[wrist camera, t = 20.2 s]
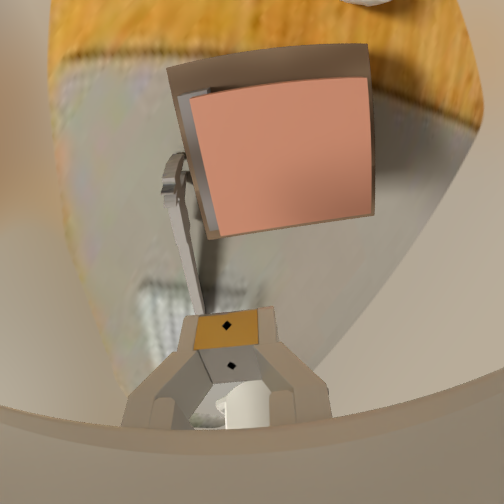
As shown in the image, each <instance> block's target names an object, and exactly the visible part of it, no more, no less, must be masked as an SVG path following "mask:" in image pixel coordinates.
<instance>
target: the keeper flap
mask: <svg viewBox="0 0 504 504" xmlns="http://www.w3.org/2000/svg"><path fill="white" fill-rule="evenodd" d="M189 100H190V105H191V110H192V114H193V119H194V123H195V128H196V133H197V137H198V141H199V146H200V150H201V155H202V159H203V164H204V168H205V172H206V177H207V181H208V185H209V189H210V194H211V198H212V202H213V206H214V211H215V215H216V219H217V223H218V227H219V231H220V235H221V236H226V235H232V234H239V233H245V232H251V231H257V230H264V229H270V228H277V227H283V226H290V225H296V224H303V223H309V222H316V221H323V220H330V219H337V218H343V217H350V216H357V215H365V214H371V183H372V173H371V130H370V110H369V95H368V83H367V78H365V77H335V78H319V79H306V80H295V81H286V82H277V83H269V84H262V85H255V86H248V87H242V88H236V89H230V90H224V91H219V92H214V93H209V94H204V95H199V96H195V97H191V98H190V99H189Z"/></svg>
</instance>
